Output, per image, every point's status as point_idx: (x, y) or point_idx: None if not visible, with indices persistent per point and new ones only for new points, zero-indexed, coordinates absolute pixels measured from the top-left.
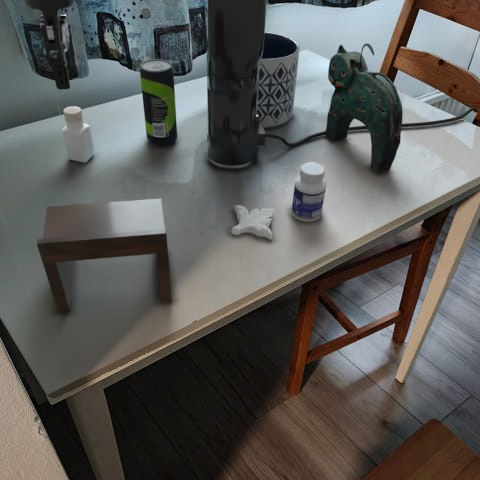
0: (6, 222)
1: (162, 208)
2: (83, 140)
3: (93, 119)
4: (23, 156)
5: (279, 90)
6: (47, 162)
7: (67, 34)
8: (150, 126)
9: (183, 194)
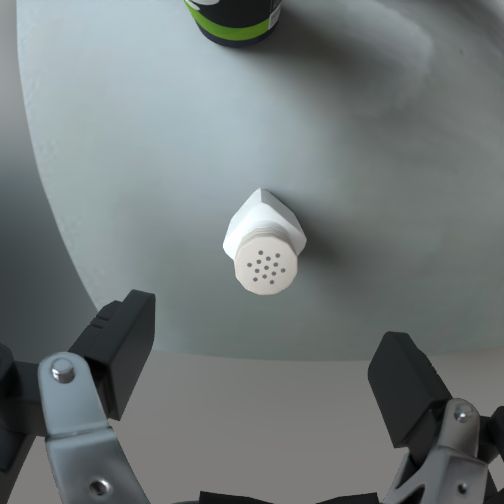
0: None
1: None
2: (298, 225)
3: (84, 168)
4: (220, 330)
5: None
6: None
7: (131, 468)
8: (262, 24)
9: (463, 69)
